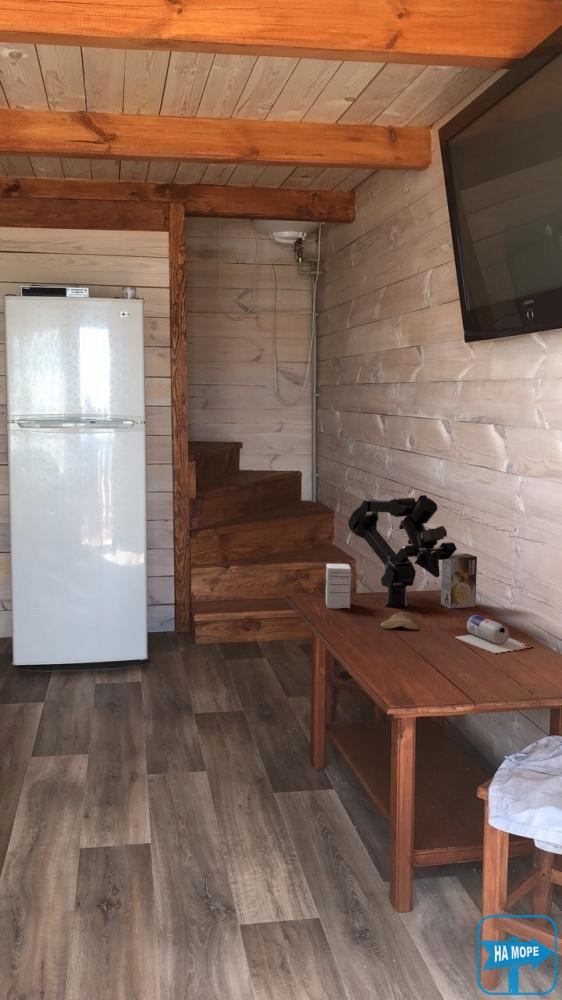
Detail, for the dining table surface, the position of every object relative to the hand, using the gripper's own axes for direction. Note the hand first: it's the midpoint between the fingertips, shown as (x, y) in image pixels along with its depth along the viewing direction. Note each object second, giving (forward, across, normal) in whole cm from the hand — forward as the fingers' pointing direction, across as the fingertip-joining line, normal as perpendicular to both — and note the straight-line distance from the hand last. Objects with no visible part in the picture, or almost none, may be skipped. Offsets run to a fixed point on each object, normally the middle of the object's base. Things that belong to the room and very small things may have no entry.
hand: (437, 576), depth 253 cm
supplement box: (-9, -17, +28) cm, 35 cm away
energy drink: (+18, 0, -4) cm, 19 cm away
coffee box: (+1, +18, +18) cm, 25 cm away
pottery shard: (+10, -13, +10) cm, 19 cm away
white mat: (+27, 0, -9) cm, 28 cm away
